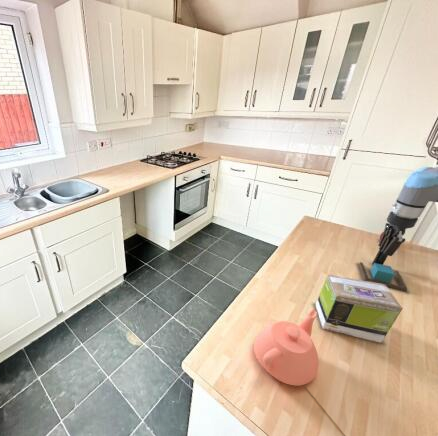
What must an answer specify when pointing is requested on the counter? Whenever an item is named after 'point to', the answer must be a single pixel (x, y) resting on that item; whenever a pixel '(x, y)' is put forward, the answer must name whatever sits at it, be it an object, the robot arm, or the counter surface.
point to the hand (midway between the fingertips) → (376, 265)
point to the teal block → (382, 273)
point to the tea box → (357, 308)
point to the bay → (397, 275)
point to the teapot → (288, 351)
